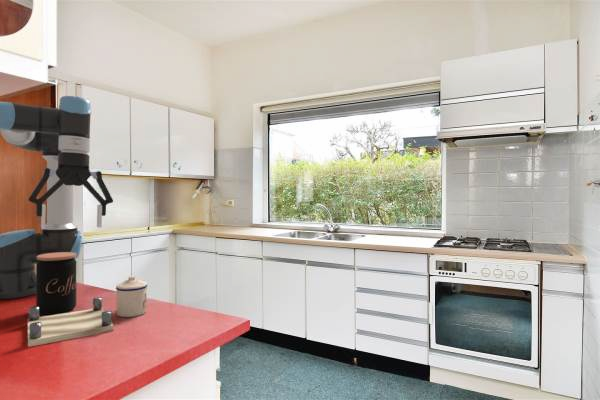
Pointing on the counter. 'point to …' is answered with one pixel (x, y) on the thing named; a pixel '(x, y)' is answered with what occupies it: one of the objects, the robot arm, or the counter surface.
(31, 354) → the counter surface
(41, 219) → the robot arm
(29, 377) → the counter surface
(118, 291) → the teacup with lid
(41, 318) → the birch board
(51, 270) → the coffee jar
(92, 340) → the counter surface
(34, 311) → the set of grey pegs
